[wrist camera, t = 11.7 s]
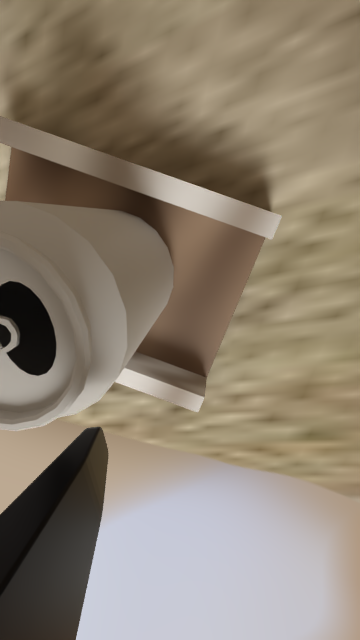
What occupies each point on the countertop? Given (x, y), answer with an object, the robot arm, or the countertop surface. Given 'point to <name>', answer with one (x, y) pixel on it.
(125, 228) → the can
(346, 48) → the countertop surface
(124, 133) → the countertop surface
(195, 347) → the floor track
